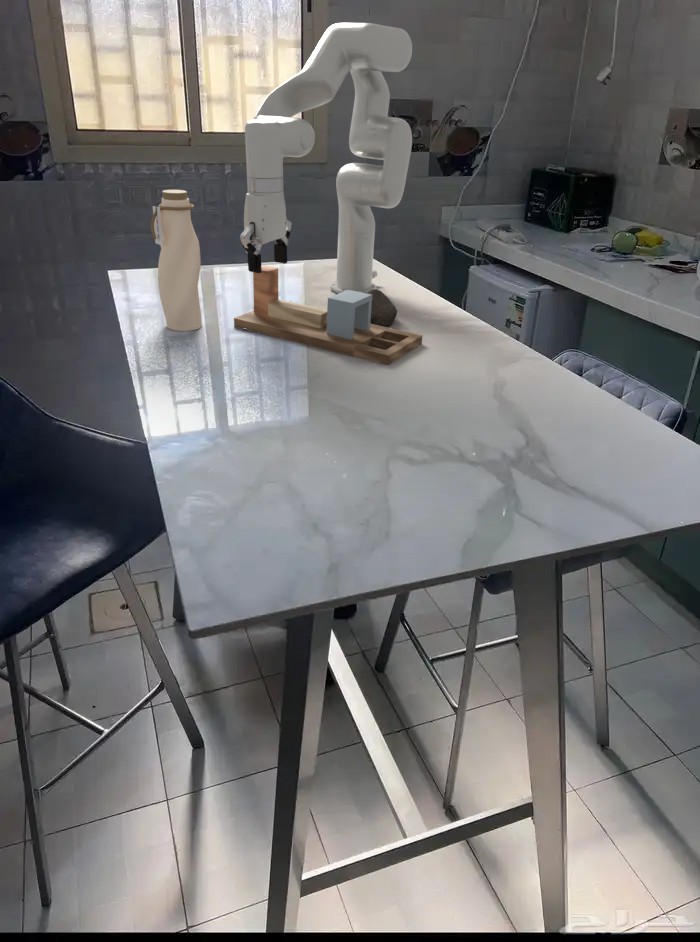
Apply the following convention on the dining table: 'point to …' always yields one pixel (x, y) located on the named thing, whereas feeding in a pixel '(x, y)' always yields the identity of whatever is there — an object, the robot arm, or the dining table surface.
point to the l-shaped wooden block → (282, 301)
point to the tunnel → (348, 313)
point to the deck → (337, 337)
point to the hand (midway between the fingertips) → (268, 267)
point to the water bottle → (177, 261)
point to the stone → (382, 309)
